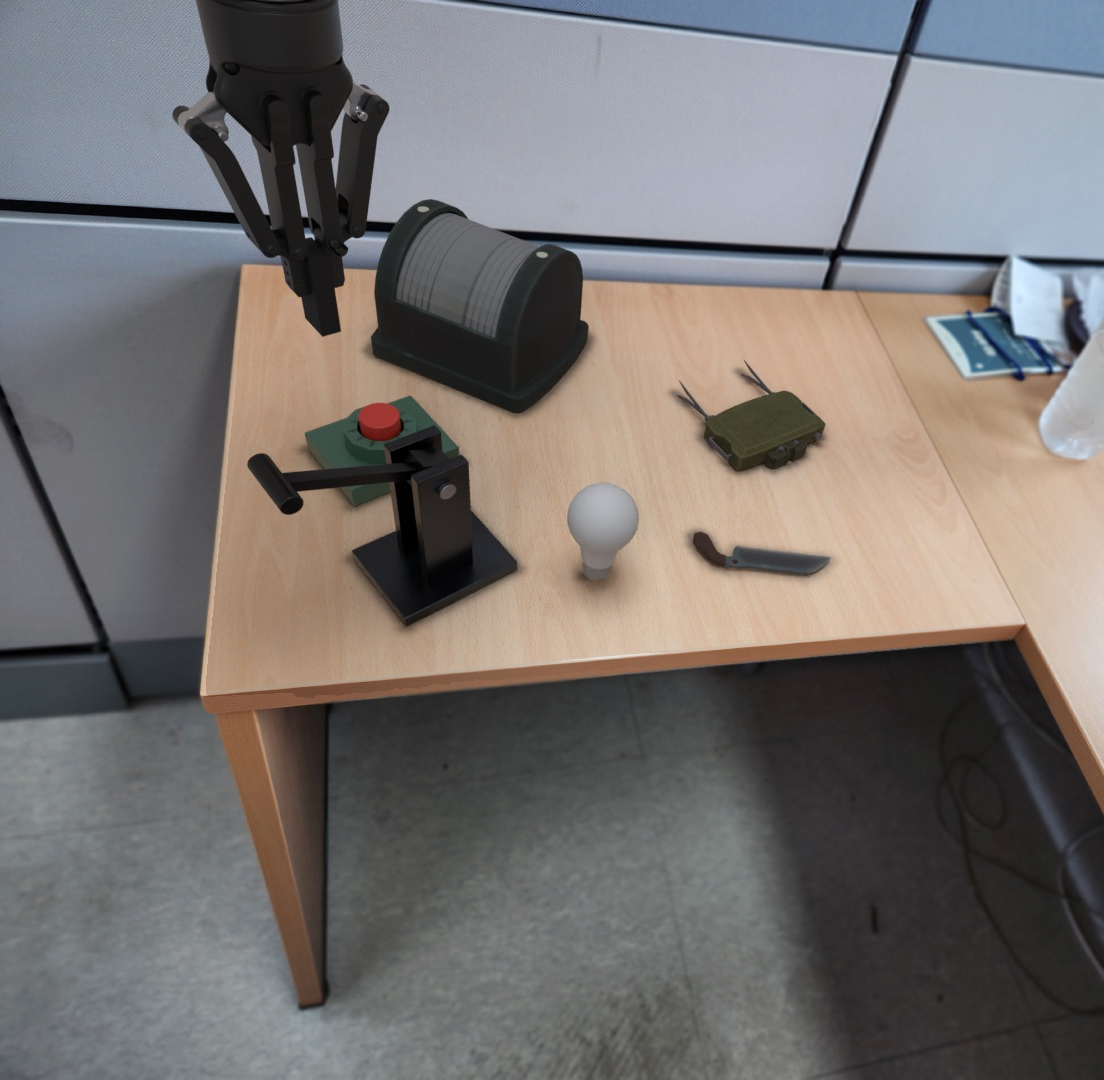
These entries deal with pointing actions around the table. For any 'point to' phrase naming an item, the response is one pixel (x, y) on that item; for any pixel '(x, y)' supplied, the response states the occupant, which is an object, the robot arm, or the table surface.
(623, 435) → the table surface
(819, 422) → the landmine
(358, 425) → the button box
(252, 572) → the table surface
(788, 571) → the knife
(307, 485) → the switch lever
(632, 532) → the lightbulb
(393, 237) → the light fixture
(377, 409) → the button
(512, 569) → the switch bracket
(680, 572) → the table surface
